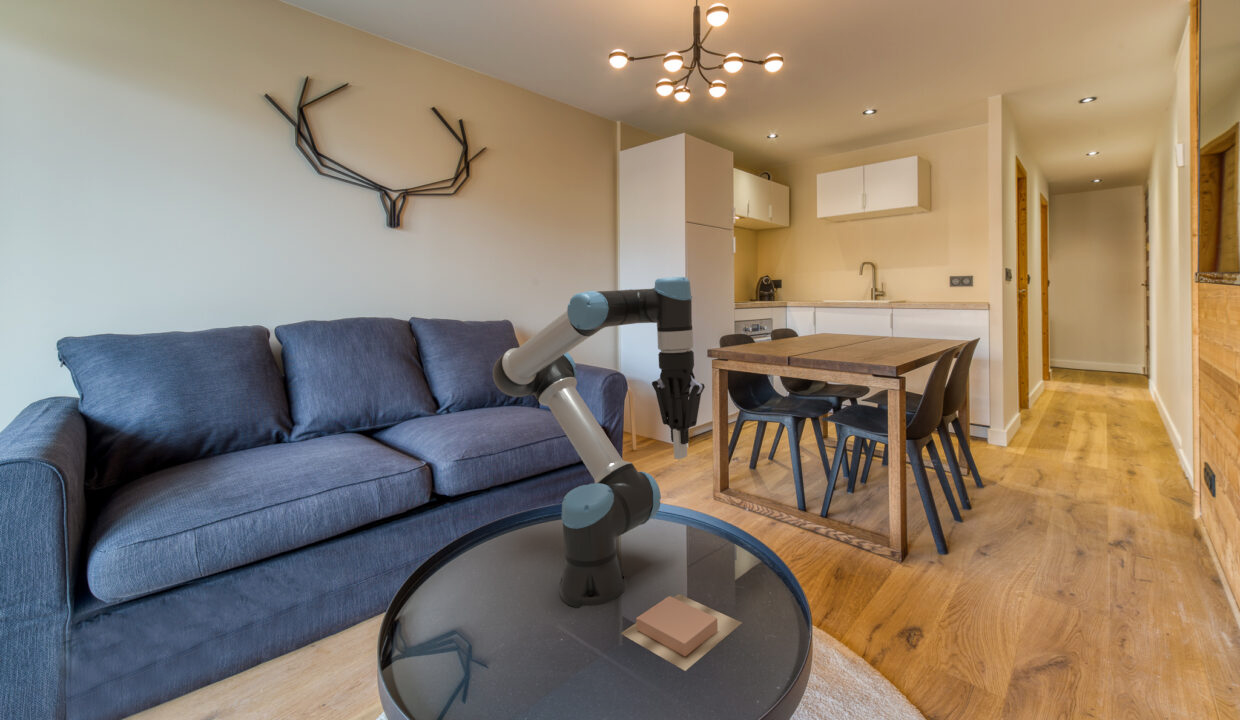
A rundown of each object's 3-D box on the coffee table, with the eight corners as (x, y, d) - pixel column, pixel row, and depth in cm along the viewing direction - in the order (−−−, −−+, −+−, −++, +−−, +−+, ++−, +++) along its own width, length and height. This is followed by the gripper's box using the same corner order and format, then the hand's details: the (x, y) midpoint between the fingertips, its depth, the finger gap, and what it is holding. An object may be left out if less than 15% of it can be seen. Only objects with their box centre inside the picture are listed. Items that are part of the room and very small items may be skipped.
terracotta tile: (670, 608, 112) (637, 631, 105) (669, 595, 111) (636, 617, 104) (717, 631, 103) (685, 658, 96) (717, 618, 103) (684, 643, 96)
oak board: (620, 637, 105) (620, 633, 104) (679, 597, 117) (678, 594, 117) (685, 675, 93) (685, 670, 93) (742, 626, 106) (742, 622, 106)
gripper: (711, 349, 112) (715, 458, 115) (664, 347, 121) (669, 448, 124) (689, 353, 107) (694, 467, 110) (641, 351, 116) (647, 456, 119)
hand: (680, 457), depth 117 cm, fingers closed
